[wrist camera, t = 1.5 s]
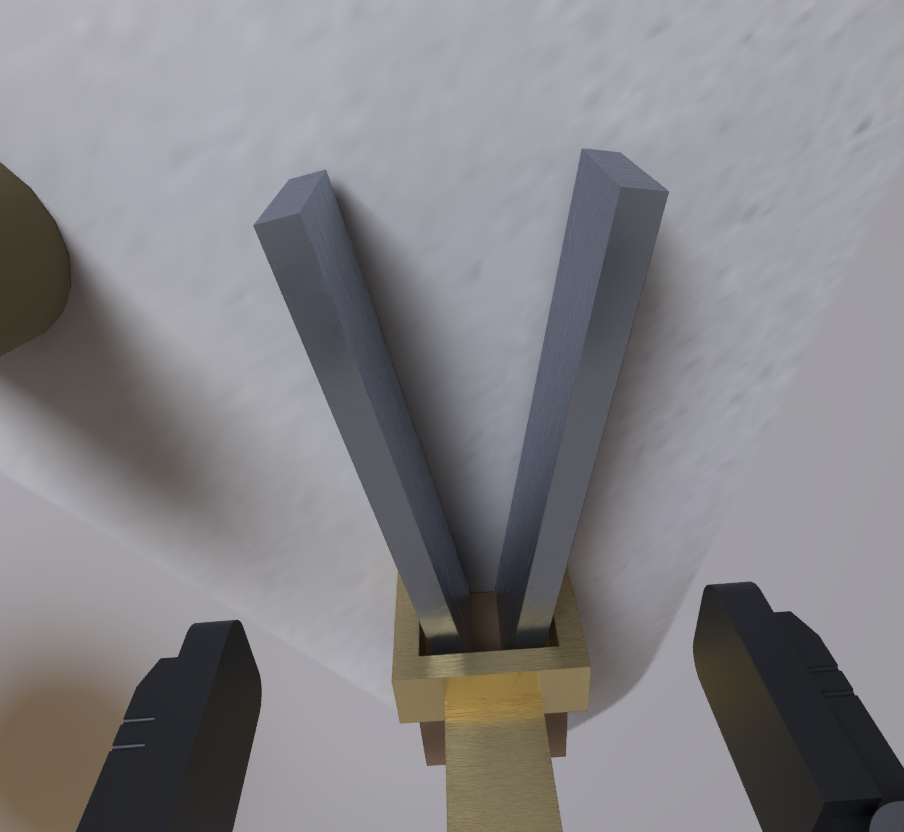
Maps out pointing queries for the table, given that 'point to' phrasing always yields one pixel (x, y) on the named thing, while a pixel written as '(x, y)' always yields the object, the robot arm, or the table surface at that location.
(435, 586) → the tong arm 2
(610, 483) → the table surface
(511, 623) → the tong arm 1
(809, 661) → the robot arm
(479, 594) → the block
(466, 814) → the collar
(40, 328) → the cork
